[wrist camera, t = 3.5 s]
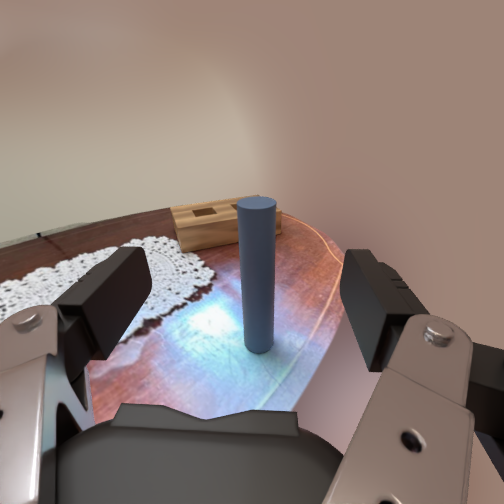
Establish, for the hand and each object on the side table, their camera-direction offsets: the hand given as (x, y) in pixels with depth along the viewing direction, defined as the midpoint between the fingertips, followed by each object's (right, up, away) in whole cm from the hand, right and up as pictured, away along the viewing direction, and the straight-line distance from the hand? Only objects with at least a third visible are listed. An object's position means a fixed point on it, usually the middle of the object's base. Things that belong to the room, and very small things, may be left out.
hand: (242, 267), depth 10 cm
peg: (+1, -9, +18) cm, 20 cm away
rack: (-5, +5, +44) cm, 45 cm away
